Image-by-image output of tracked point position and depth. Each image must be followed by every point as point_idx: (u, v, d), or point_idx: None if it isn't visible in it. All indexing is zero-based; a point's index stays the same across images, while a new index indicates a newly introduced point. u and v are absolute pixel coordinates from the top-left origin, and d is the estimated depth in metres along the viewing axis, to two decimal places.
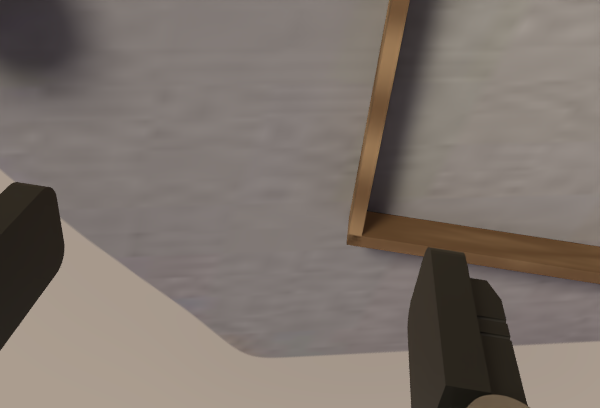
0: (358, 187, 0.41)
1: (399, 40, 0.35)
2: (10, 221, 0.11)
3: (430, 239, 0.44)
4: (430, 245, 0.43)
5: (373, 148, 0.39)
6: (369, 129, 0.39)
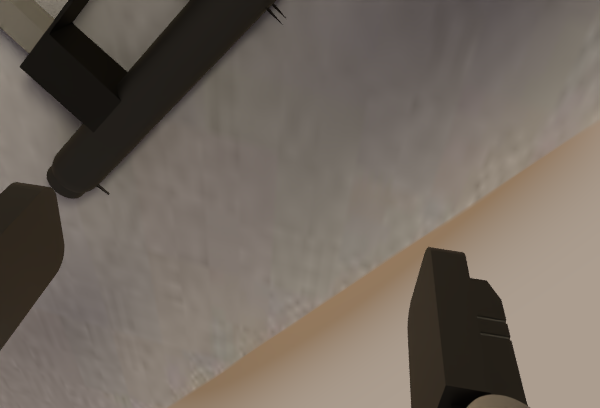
0: None
1: None
2: (10, 221, 0.11)
3: None
4: None
5: None
6: None
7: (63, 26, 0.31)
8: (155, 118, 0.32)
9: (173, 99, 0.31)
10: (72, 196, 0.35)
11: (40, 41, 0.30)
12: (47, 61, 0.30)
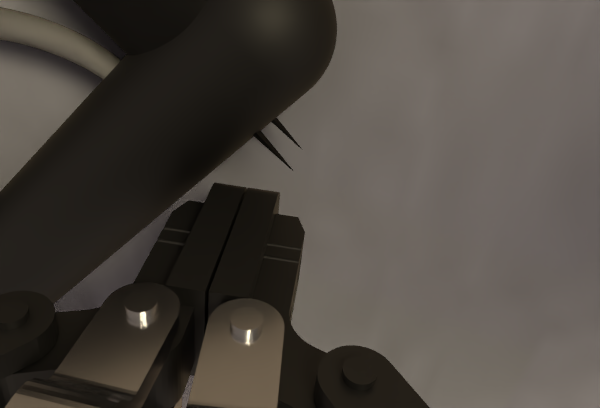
0: None
1: None
2: (230, 219, 0.11)
3: None
4: None
5: None
6: None
7: None
8: None
9: (56, 293, 0.15)
10: None
11: None
12: None
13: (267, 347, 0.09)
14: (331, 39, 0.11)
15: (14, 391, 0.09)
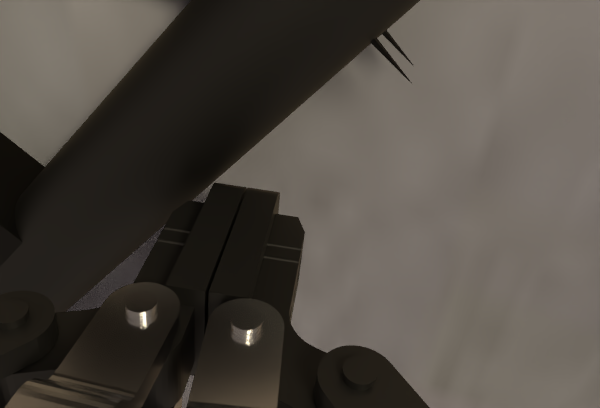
0: None
1: None
2: (230, 219, 0.11)
3: None
4: None
5: None
6: None
7: None
8: (102, 272, 0.14)
9: (140, 238, 0.14)
10: None
11: None
12: None
13: (267, 347, 0.09)
14: None
15: (14, 391, 0.09)
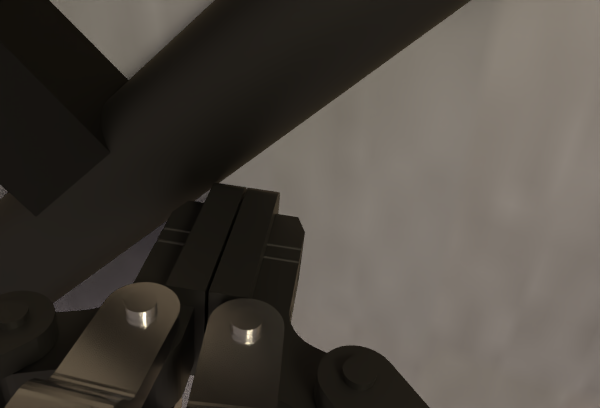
0: None
1: None
2: (230, 219, 0.11)
3: None
4: None
5: None
6: None
7: None
8: (191, 196, 0.13)
9: (244, 157, 0.12)
10: None
11: None
12: None
13: (267, 347, 0.09)
14: None
15: (14, 391, 0.09)
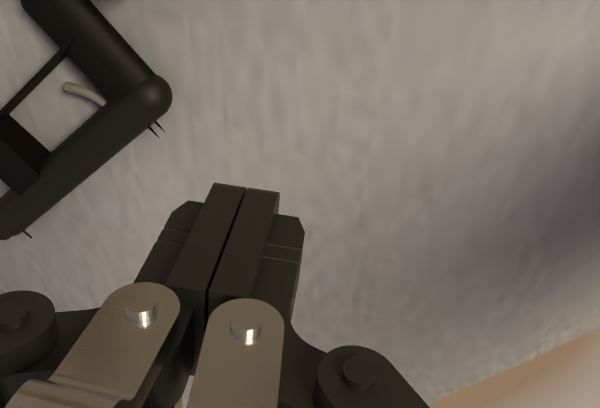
0: None
1: None
2: (230, 219, 0.11)
3: None
4: None
5: None
6: None
7: (1, 118, 0.41)
8: (67, 190, 0.42)
9: (80, 179, 0.41)
10: (2, 238, 0.45)
11: None
12: None
13: (267, 347, 0.09)
14: (168, 100, 0.38)
15: (14, 391, 0.09)
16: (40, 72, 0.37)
